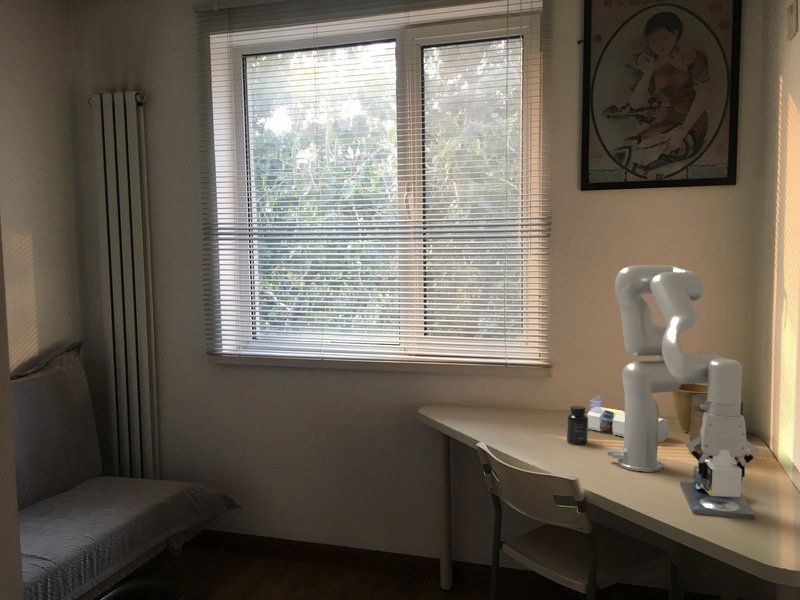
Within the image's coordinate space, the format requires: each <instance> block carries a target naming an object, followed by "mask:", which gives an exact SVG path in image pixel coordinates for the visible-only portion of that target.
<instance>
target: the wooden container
mask: <svg viewBox="0 0 800 600" xmlns="http://www.w3.org/2000/svg"><path fill="white" fill-rule="evenodd" d="M706 400H707V394H697V395H694V396H692V410H691V425H690V434H689V442H690V441H692V440H694V439H695V438H697V437H699V436H700V430H701V423H702V418H703V415H704V412H707V411H706V410H705V409H701V403H703V404H704V403H706ZM743 410H744V401H743V399H741V409H740V415H742V416H743V417H744V415H743ZM694 449H695V450H696V451H697V452H698V453H700V452H701V451H702V450H701V448H700V446H699V444H698V445H696V446H695V447H694ZM688 451H689V450H688ZM690 453H691V452H690V451H689V454H690ZM690 455H692V453H691V454H690ZM706 459H708V457H707V458H706ZM735 460H738V459H737V457H735ZM738 461H739V460H738Z"/></svg>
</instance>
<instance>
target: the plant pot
mask: <svg viewBox="0 0 800 600" xmlns="http://www.w3.org/2000/svg"><path fill="white" fill-rule="evenodd" d="M707 390H708V384H703V383H700V384H682V385H681V387H680V388H679V389H678V390H676V391H672V392H671V393H672V396H673V398H672V399H673V404H674V408H675V412H676V415H677V419H678V423H679V425H680V428H681V430H684V431H686V432H690V425H691V410H692V396H694V395H697V394H707Z"/></svg>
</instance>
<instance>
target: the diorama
mask: <svg viewBox="0 0 800 600" xmlns="http://www.w3.org/2000/svg"><path fill="white" fill-rule="evenodd" d="M589 403H590V404H589V405H588V407H589V408H588V413H587V414H586V416H587V417H588V429H592V430H597V431H601V432H602V430H601V426H600V424H601V425H605V426H610V427H613V428H612V434H613V436H614V435H618V436H617V437H619V436H623V437H624V424H625V410H624V411H623V410H620V409H619V410H618V409H613V408H607V407H603V406H601V404H602V401H601V396H600V395H597V396H596V397H592V399H589ZM592 430H591V431H592ZM668 434H669V421H668V420H666V419H665V418H662V417H661V418H660V417H658V442H660V441H662V440H664V439H666V438H668ZM623 437H622V438H623ZM666 440H667V439H666ZM662 442H663V441H662ZM660 443H661V442H660Z"/></svg>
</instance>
